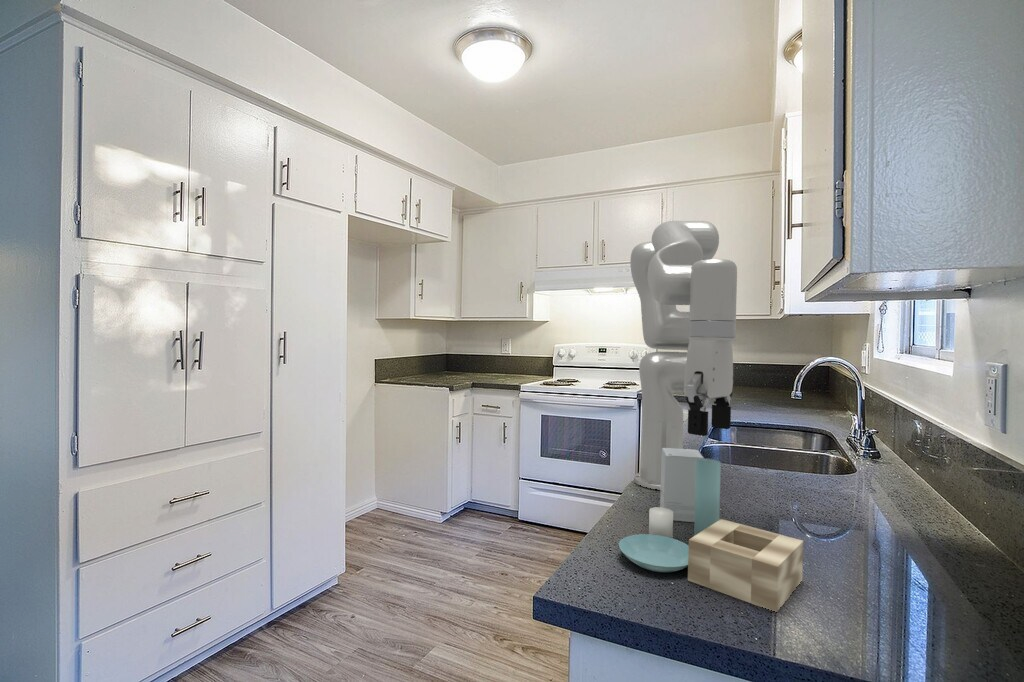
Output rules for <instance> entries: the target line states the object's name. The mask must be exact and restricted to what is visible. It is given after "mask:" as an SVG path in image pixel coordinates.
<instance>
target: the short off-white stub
mask: <svg viewBox="0 0 1024 682" xmlns="http://www.w3.org/2000/svg"><path fill="white" fill-rule="evenodd" d="M648 513H649V517H648V522H649V523H648V534H651V535H659V536H665V537H669V538H673V539H674V537H673V536H674V535H673V533H674V531H673V530H674V520H673V511H672V510H670V509H667V508H662V507H660V506H659V507H658V506H655V507H651V508H649V511H648Z"/></svg>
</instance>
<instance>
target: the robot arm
mask: <svg viewBox="0 0 1024 682" xmlns="http://www.w3.org/2000/svg"><path fill="white" fill-rule="evenodd" d="M719 244H720V234H719V231H718V229H717V227H716V225H715V224H713V223H712V222H710V221H705V220H669V221H666V222H662V223H661V224H659V225H658V226H656V227H655V228H654V230H653V232H652V235H651V241H645V242H641V243H639V244H637V245H635V246H634V247H633V249H632V250H631V254H630V274H631V278H632V281H633V284H634V287H635V289H636V291H637V294H638V297H639V299H640V300H639V301H640V311H641V312H640V313H641V314H640V315H641V325H642V328H641V329H642V336H643V341H644V344H645V345H646V346H647V347H649V348H650V349H654V350H661V351H652V352H649V353H646V354H645V355H643V356H642V358H641V359H640V362H639V366H638V370H639V381H640V387H641V402H642V404H641V445H640V446H641V447H640V449H641V452H640V472H637V473H636V474H634V476H633V481H634V483H635V484H637V485H638V486H640V485H641V486H640V487H643V488H646V487H647V488H646V489H650V488H651V489H650V490H655V489H657V490H656V491H661V455H662V448H675V449H684V446H683V445H684V444H683V442H684V410H683V408H682V406H681V404H680V402H679V401H678V400H677V399H676V397H675V396H674V394H673V393H684V395H685V396H686V397H685V399H686V403H687V406H686V409H687V433H688V434H689V435H694V436H702V437H707V436H708V434H709V411H707V408H708V405H709V402H710V400H712V401H713V404H712V405H711V427H712V428H716V429H717V428H718V429H723V430H724V429H725V430H729V429H731V424H732V423H731V418H732V415H731V414H732V404H733V402H732V401H733V400H732V396H733V388H734V387H733V385H734V359H733V358H734V355H733V354H734V353H733V342H735V341H736V340H737V339H736V337H737V335H736V334H737V331H736V330H737V297H738V296H737V293H738V289H737V287H738V266H737V264H736V262H734V261H733V260H730V259H725V258H714V256H715V255H716V254H717V251H718V249H719ZM677 306H689V311H679V309H677ZM732 341H733V342H732ZM662 350H665V351H662ZM666 350H667V351H666ZM681 351H683V352H681ZM684 351H686V352H684ZM640 474H641V475H640ZM639 475H640V476H639ZM634 479H635V480H634Z"/></svg>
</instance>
